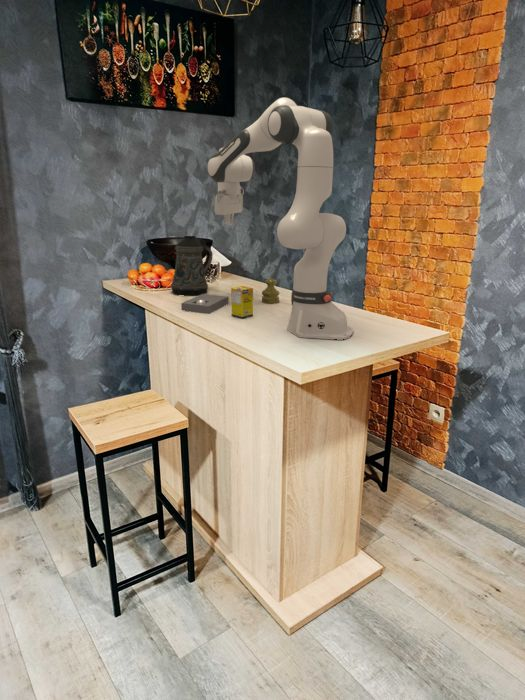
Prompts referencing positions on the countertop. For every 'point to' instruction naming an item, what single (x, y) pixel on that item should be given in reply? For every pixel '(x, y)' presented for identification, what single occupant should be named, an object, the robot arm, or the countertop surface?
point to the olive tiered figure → (270, 292)
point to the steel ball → (200, 301)
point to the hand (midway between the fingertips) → (229, 225)
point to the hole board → (211, 303)
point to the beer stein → (191, 267)
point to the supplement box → (242, 302)
